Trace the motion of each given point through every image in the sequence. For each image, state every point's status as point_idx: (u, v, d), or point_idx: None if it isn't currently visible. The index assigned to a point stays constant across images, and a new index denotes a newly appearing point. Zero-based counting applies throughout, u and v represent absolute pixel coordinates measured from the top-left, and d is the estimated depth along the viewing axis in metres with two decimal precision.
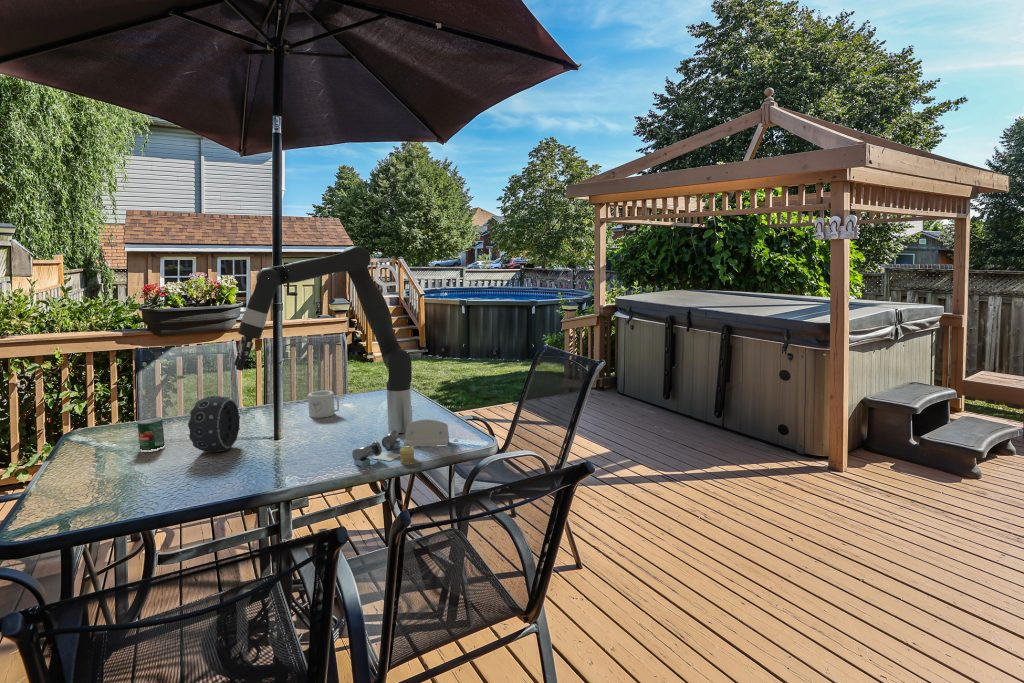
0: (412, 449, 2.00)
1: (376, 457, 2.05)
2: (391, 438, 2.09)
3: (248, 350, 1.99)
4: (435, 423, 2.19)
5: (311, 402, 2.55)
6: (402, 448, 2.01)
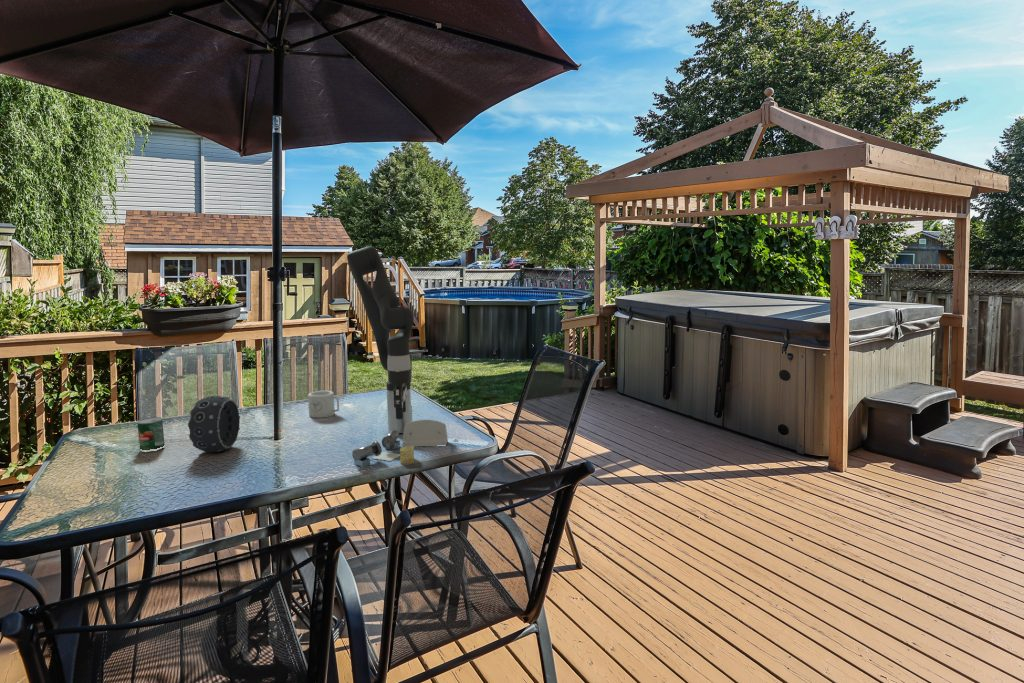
0: (412, 449, 2.00)
1: (376, 457, 2.05)
2: (391, 438, 2.09)
3: None
4: (433, 423, 2.19)
5: (311, 402, 2.55)
6: (402, 448, 2.01)
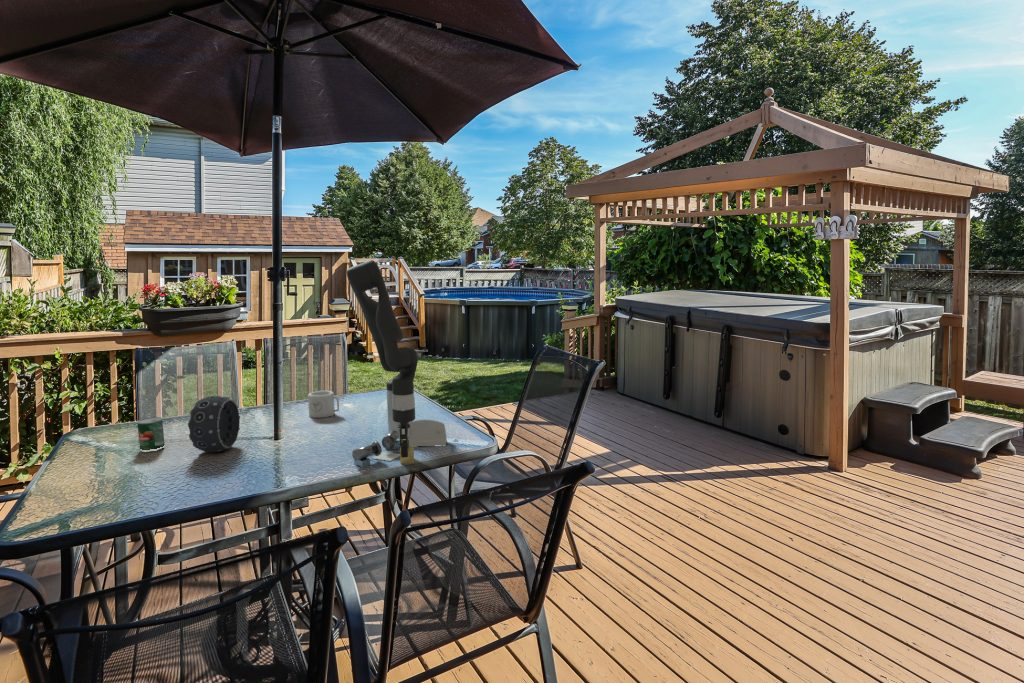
0: (412, 449, 2.00)
1: (376, 457, 2.05)
2: (391, 438, 2.09)
3: None
4: (433, 423, 2.19)
5: (311, 402, 2.55)
6: None
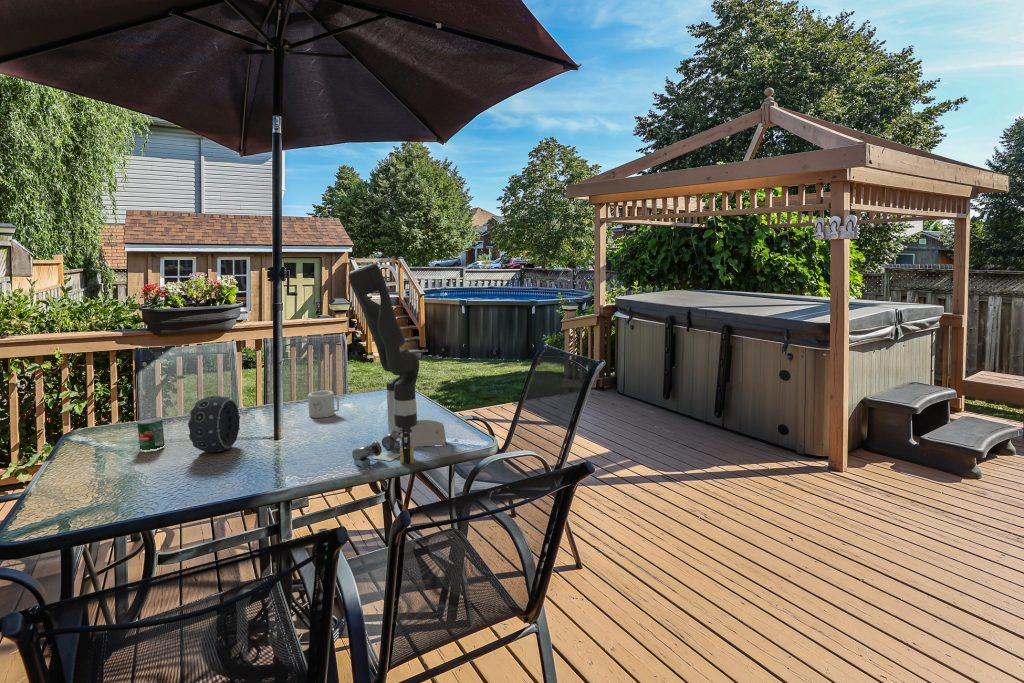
0: (412, 449, 2.00)
1: (376, 457, 2.05)
2: (391, 438, 2.09)
3: None
4: (432, 423, 2.19)
5: (311, 402, 2.55)
6: None
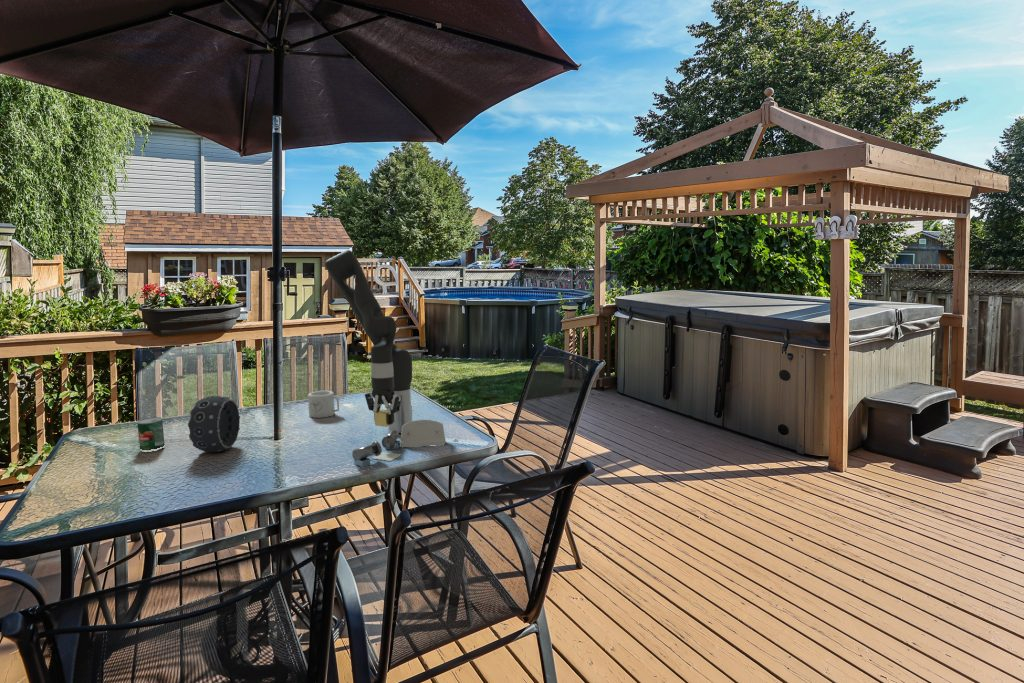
0: None
1: (376, 457, 2.05)
2: (391, 438, 2.09)
3: None
4: (431, 423, 2.19)
5: (311, 402, 2.55)
6: (381, 412, 2.02)
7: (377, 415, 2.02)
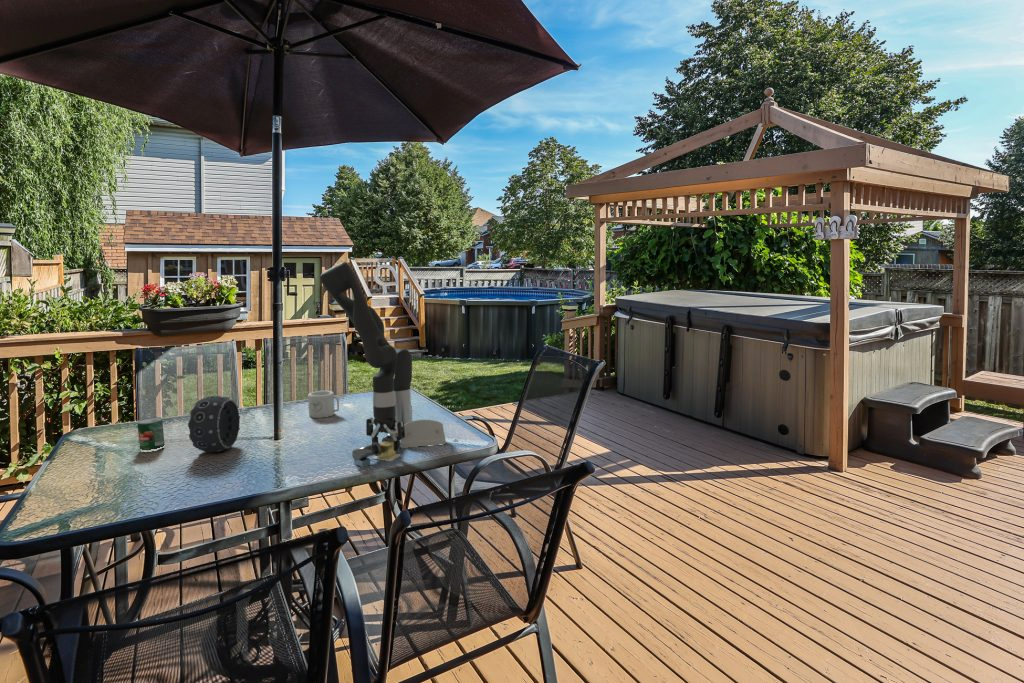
0: (391, 442, 2.06)
1: (376, 457, 2.05)
2: (391, 438, 2.09)
3: None
4: (431, 423, 2.20)
5: (311, 402, 2.55)
6: (383, 445, 2.04)
7: None
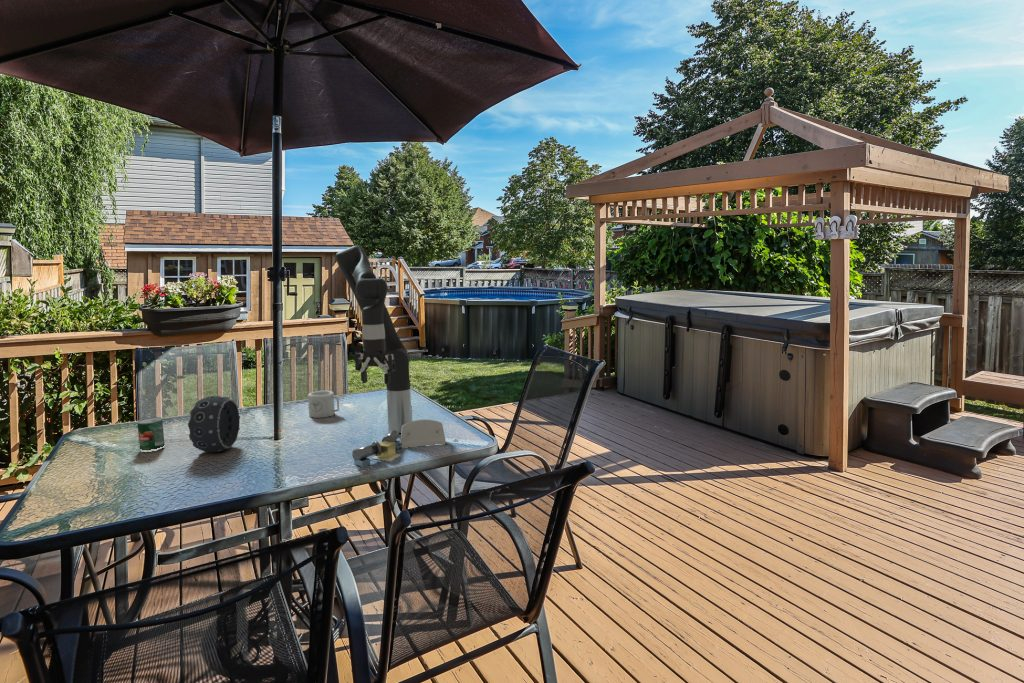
0: (391, 442, 2.06)
1: (376, 457, 2.05)
2: (391, 438, 2.09)
3: None
4: (431, 422, 2.20)
5: (311, 402, 2.55)
6: (383, 445, 2.04)
7: None
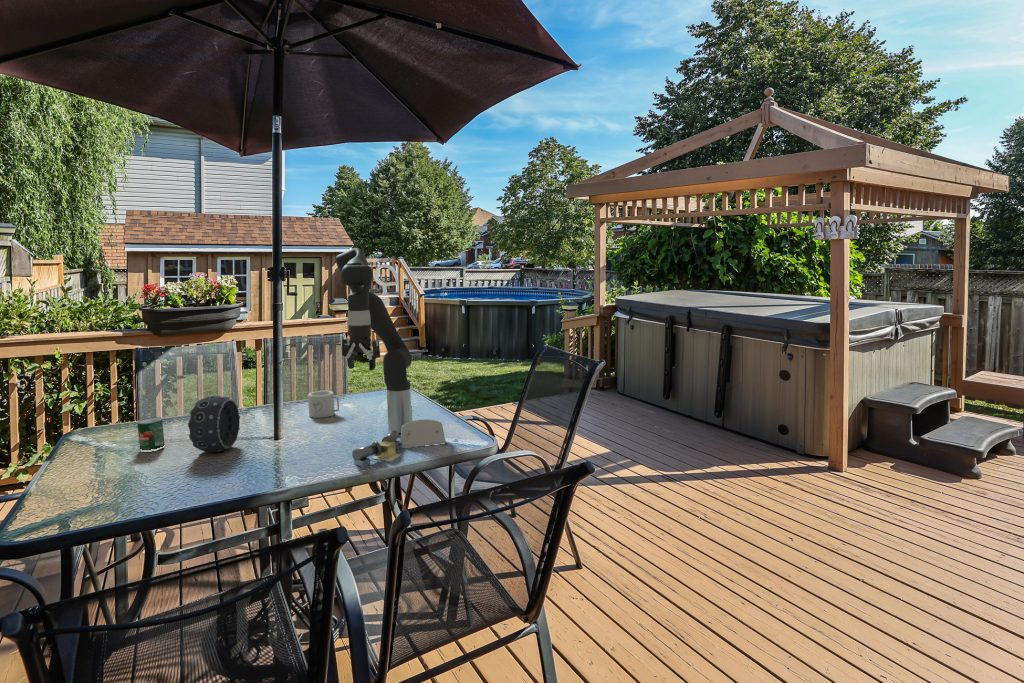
0: (391, 442, 2.06)
1: (376, 457, 2.05)
2: (391, 438, 2.09)
3: None
4: (431, 422, 2.20)
5: (311, 402, 2.55)
6: (383, 445, 2.04)
7: None
